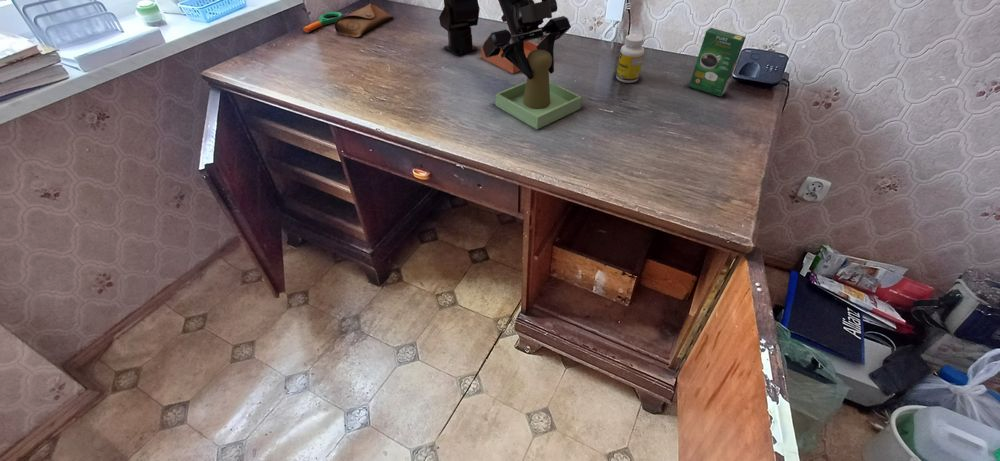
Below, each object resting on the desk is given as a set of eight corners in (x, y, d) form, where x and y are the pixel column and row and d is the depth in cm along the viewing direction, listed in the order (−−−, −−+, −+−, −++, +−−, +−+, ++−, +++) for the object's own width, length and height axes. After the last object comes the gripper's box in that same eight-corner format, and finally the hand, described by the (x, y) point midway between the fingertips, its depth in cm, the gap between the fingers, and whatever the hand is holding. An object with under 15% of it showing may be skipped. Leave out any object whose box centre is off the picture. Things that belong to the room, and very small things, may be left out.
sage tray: (495, 105, 103) (495, 93, 101) (538, 87, 109) (539, 76, 107) (537, 129, 95) (537, 117, 94) (580, 108, 102) (582, 96, 100)
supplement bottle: (611, 75, 114) (618, 34, 107) (631, 72, 115) (639, 31, 108) (622, 85, 110) (630, 43, 103) (642, 81, 111) (651, 40, 104)
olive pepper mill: (521, 95, 104) (523, 46, 96) (548, 94, 104) (552, 45, 97) (524, 109, 100) (526, 58, 92) (552, 108, 100) (556, 58, 92)
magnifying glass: (330, 14, 144) (329, 9, 143) (347, 17, 143) (345, 11, 142) (298, 32, 134) (296, 25, 133) (315, 34, 133) (314, 28, 131)
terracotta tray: (481, 58, 121) (481, 47, 119) (516, 45, 127) (516, 35, 125) (512, 73, 114) (513, 62, 112) (548, 60, 120) (549, 49, 118)
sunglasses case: (360, 36, 130) (345, 13, 127) (345, 46, 134) (330, 24, 131) (395, 16, 142) (382, -6, 139) (380, 25, 146) (368, 4, 144)
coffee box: (726, 93, 107) (747, 35, 98) (722, 98, 105) (742, 39, 96) (692, 83, 110) (709, 26, 101) (687, 87, 109) (704, 30, 100)
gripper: (489, -11, 85) (520, 70, 86) (570, -27, 92) (598, 48, 93) (470, 19, 95) (498, 92, 96) (544, 3, 102) (570, 71, 103)
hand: (542, 75), depth 97 cm, fingers closed on olive pepper mill, 5 cm apart
